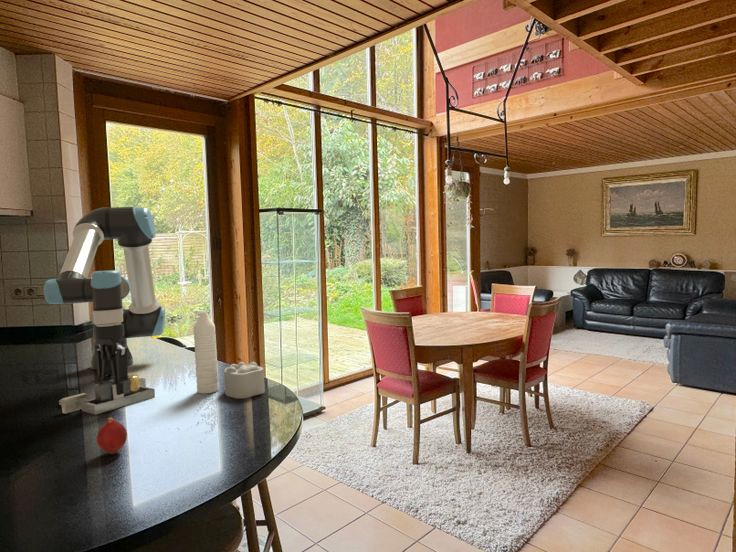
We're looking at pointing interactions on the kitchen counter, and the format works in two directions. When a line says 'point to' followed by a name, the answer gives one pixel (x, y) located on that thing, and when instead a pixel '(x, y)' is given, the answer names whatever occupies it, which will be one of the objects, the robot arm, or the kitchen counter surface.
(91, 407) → the door board
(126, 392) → the lock bar
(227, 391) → the lumpy-topped squat cylinder
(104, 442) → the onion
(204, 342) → the water bottle
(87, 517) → the kitchen counter surface
